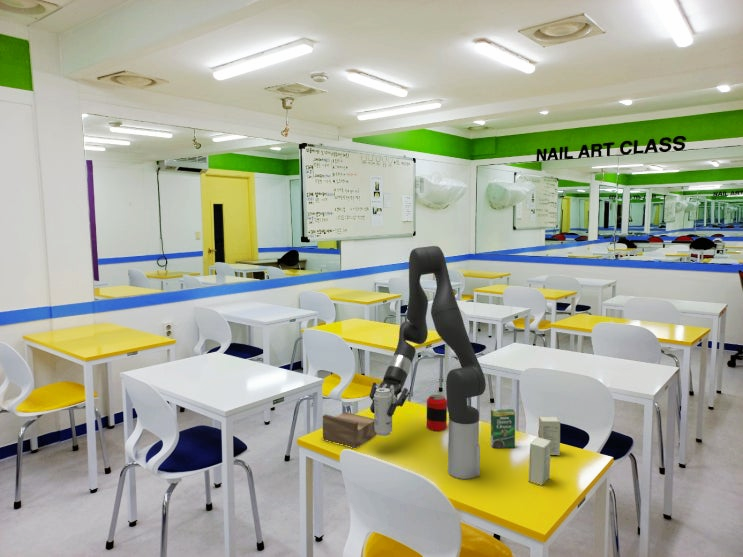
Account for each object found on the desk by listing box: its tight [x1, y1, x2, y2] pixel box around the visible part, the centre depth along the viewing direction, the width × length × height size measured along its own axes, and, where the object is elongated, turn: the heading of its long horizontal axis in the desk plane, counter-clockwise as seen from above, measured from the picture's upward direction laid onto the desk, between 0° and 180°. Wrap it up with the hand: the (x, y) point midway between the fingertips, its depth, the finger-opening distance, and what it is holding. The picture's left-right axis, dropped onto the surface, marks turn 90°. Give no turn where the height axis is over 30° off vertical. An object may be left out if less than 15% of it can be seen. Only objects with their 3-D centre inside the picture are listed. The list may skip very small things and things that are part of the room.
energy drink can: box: [373, 388, 393, 437], centre depth 174 cm, size 6×6×15 cm
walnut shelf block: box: [322, 411, 378, 449], centre depth 186 cm, size 14×14×9 cm
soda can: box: [426, 394, 448, 432], centre depth 195 cm, size 8×8×12 cm
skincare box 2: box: [528, 436, 551, 485], centre depth 155 cm, size 6×4×12 cm
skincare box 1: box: [538, 416, 561, 455], centre depth 173 cm, size 6×4×12 cm
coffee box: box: [490, 408, 516, 449], centre depth 178 cm, size 8×3×13 cm, turn 90°
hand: (380, 413), depth 172 cm, fingers closed on energy drink can, 6 cm apart
